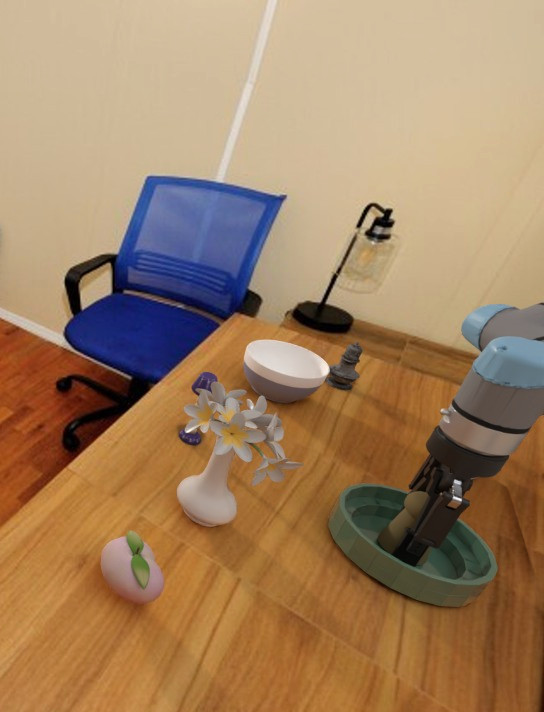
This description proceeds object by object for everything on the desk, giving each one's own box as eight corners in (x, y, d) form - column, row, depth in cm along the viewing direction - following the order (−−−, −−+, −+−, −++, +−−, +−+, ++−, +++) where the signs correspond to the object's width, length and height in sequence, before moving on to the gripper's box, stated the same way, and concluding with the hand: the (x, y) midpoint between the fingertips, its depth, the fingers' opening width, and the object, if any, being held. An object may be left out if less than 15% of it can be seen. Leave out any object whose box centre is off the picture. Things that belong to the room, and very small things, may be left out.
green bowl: (467, 545, 84) (486, 520, 81) (486, 636, 71) (508, 611, 69) (329, 490, 94) (341, 467, 92) (323, 561, 82) (338, 537, 79)
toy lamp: (203, 449, 104) (225, 384, 97) (178, 444, 106) (198, 379, 98) (199, 433, 108) (220, 370, 101) (175, 429, 110) (194, 366, 102)
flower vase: (220, 572, 80) (270, 456, 69) (139, 485, 96) (169, 379, 85) (282, 549, 84) (339, 435, 72) (194, 469, 99) (230, 364, 88)
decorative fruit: (88, 561, 82) (98, 519, 78) (139, 562, 82) (152, 520, 78) (107, 620, 74) (119, 577, 69) (163, 621, 74) (179, 578, 69)
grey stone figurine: (332, 389, 121) (351, 347, 115) (318, 375, 126) (336, 334, 120) (359, 392, 120) (380, 349, 114) (344, 377, 125) (364, 336, 119)
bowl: (223, 369, 129) (234, 337, 124) (291, 373, 127) (305, 341, 122) (253, 410, 115) (266, 375, 110) (330, 415, 113) (346, 381, 108)
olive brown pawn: (376, 549, 82) (405, 501, 77) (378, 525, 86) (407, 478, 81) (427, 572, 78) (461, 524, 73) (427, 546, 82) (460, 499, 77)
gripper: (430, 395, 80) (370, 497, 91) (443, 466, 67) (371, 576, 78) (498, 414, 76) (427, 519, 86) (526, 494, 63) (438, 606, 73)
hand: (401, 546), depth 82 cm, fingers closed on olive brown pawn, 6 cm apart
